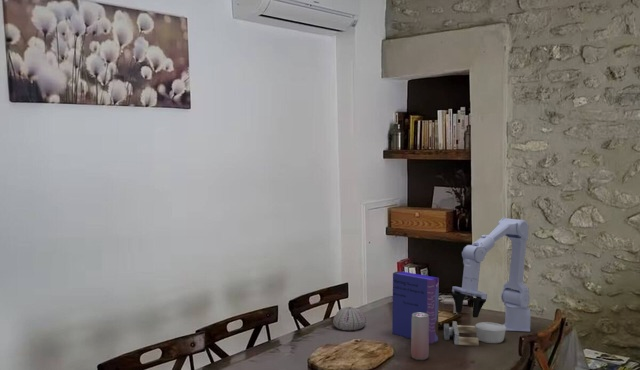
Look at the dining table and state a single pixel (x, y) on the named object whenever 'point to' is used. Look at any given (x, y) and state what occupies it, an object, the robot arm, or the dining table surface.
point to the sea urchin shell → (349, 319)
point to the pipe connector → (454, 304)
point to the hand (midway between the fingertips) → (466, 314)
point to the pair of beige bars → (467, 339)
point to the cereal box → (414, 302)
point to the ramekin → (490, 332)
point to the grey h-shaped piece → (451, 332)
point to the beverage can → (420, 336)
